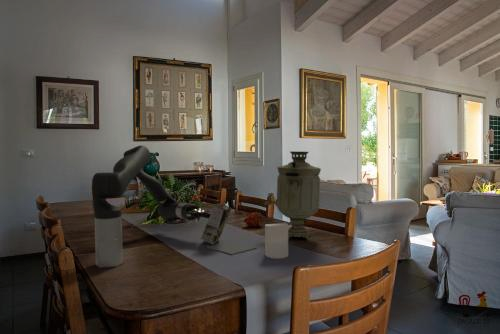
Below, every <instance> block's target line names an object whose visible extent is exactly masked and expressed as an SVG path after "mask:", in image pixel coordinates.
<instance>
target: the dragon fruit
mask: <svg viewBox="0 0 500 334" xmlns="http://www.w3.org/2000/svg"><path fill="white" fill-rule="evenodd" d="M264 221H265V216H264V215H263V214H262V213H261V212H257V211H255V212H252V211H251V212H250V213H249V214H247V215H246V217H245V218H244V220H243V222H244V223H245V225H246V227H254V228H256V227H260V225H262V224H264Z"/></svg>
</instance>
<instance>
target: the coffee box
mask: <svg viewBox="0 0 500 334" xmlns="http://www.w3.org/2000/svg"><path fill="white" fill-rule="evenodd" d="M231 210H232V207H230V206H228V205H225V204H223V203H220V202H219V203H216V204H214V205H213V207H212V210H211V212H210V213H211V214H210V217H209V218H207V219H208V220H207V223H206V225H205V227H204V230H203V232H202V235H201V238H200V239H201V240H203V241H204V242H207V243H209V244H211V245H216V244H217V242H219V241H220V239H221V236H222V233H223V231H224V228H225V225H226V224H227V221H228V218H229V215H230V213H231Z"/></svg>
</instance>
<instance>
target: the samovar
mask: <svg viewBox="0 0 500 334" xmlns="http://www.w3.org/2000/svg"><path fill="white" fill-rule="evenodd" d="M289 153H290V154H291V160H292V161H290V162H288V164H285V165H284V164H283V165H279V166H277V168H276V169H277V171H278V176H277V185H276V199H275V200H272V197H273V196H275V194H274V193H273V192H268V193H267V196H268V197H269V199H268V200H267V201H265V202H264V203H263V206H267V205H269V206H271V205H272V204H273V205H274V204H275V206H276V209H278V212H280V214H282V215H283V216H284V217H286V218H289V223H290V224H291V225H292V226H291V227H288V240H290V239H291V238H292V237H295V238H297V237H298V238H301V237H302V238H304V239H305V240H306V241H307V242H310V241H311V238H310V237H311V234H310V231H309V230H308V229H307V228H306V227H304V225H306V219H309V218H312V216H313V215H315V214H316V213H317V212H318V211H319V207H320V189H321V188H320V184H321V178H320V174H321V170H322V169H321V168H320V167H317V166H313V165H311V164H310V163H309V162H306V160H307V156H308V154H309V151H289ZM309 236H310V237H309Z"/></svg>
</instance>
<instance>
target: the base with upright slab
mask: <svg viewBox="0 0 500 334" xmlns="http://www.w3.org/2000/svg"><path fill="white" fill-rule="evenodd" d="M288 230H289V224H288V223H285V222H284V223H283V222H282V223H269V224H264V255H266V256H267V257H266V256H265V257H266V258H269V257H270V259H284V258H287V257H289V239H288Z"/></svg>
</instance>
